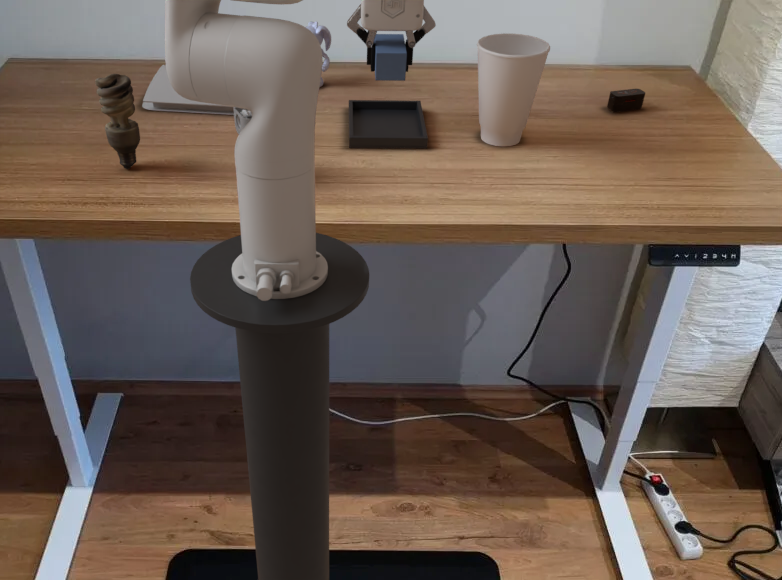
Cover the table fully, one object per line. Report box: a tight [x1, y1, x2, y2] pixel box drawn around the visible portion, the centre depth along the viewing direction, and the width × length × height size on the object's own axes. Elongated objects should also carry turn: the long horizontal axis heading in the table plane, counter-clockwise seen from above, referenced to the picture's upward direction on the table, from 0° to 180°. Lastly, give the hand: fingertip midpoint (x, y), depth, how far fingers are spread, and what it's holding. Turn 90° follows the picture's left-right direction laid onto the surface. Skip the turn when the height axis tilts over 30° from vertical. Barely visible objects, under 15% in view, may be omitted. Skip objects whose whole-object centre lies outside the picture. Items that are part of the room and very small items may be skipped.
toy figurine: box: [305, 20, 332, 88], centre depth 158 cm, size 7×6×12 cm
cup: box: [476, 33, 551, 147], centre depth 136 cm, size 12×12×16 cm
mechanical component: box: [233, 107, 252, 135], centre depth 126 cm, size 3×10×10 cm, turn 24°
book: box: [141, 64, 234, 116], centre depth 154 cm, size 15×23×4 cm, turn 83°
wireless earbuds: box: [606, 88, 646, 114], centre depth 152 cm, size 5×7×3 cm, turn 107°
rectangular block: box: [374, 33, 407, 82], centre depth 137 cm, size 10×5×4 cm, turn 0°
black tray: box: [348, 99, 429, 150], centre depth 144 cm, size 17×13×2 cm
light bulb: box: [94, 73, 141, 170], centre depth 127 cm, size 6×6×15 cm
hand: (389, 67), depth 138 cm, fingers closed on rectangular block, 5 cm apart
